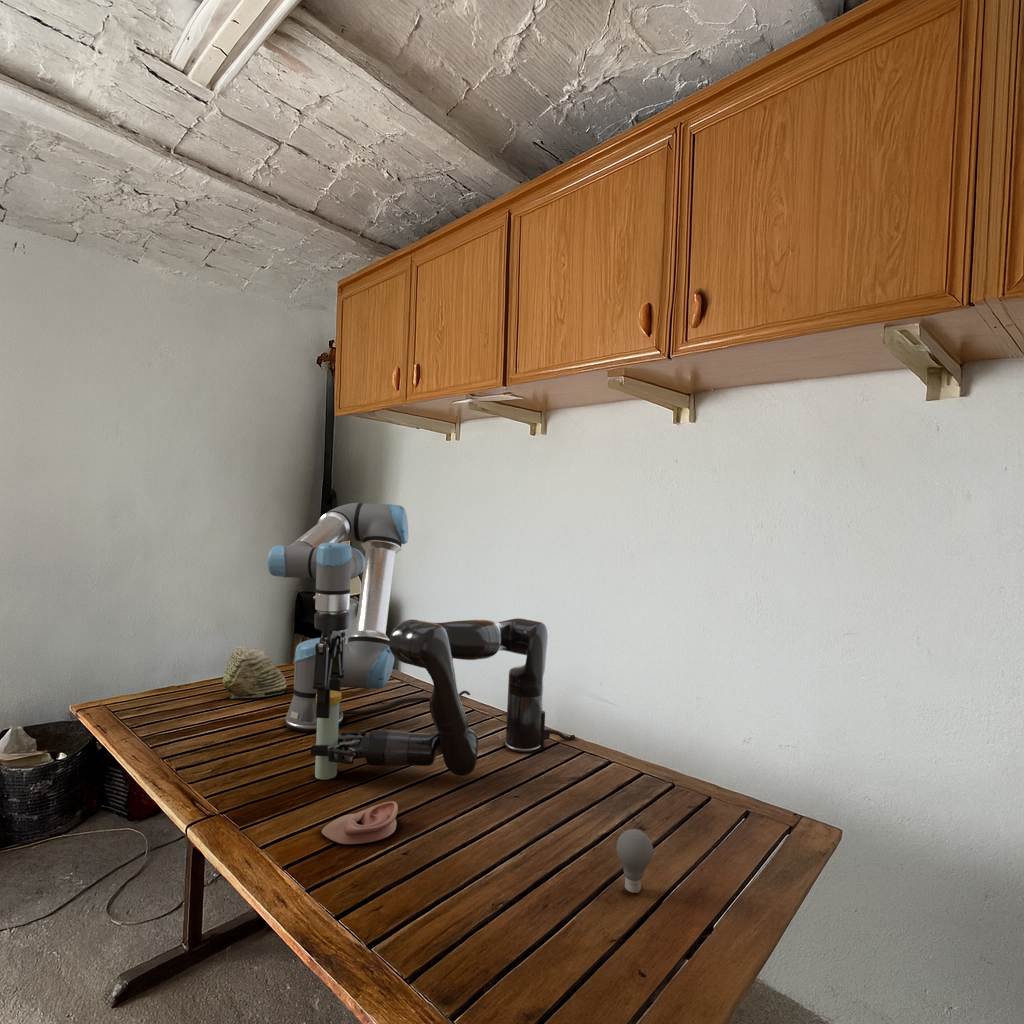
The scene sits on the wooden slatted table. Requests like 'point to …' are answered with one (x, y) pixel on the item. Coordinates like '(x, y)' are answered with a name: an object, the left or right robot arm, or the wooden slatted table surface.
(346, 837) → the anatomical model
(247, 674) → the fossil
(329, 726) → the jar
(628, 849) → the light bulb
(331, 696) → the lid
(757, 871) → the wooden slatted table surface
